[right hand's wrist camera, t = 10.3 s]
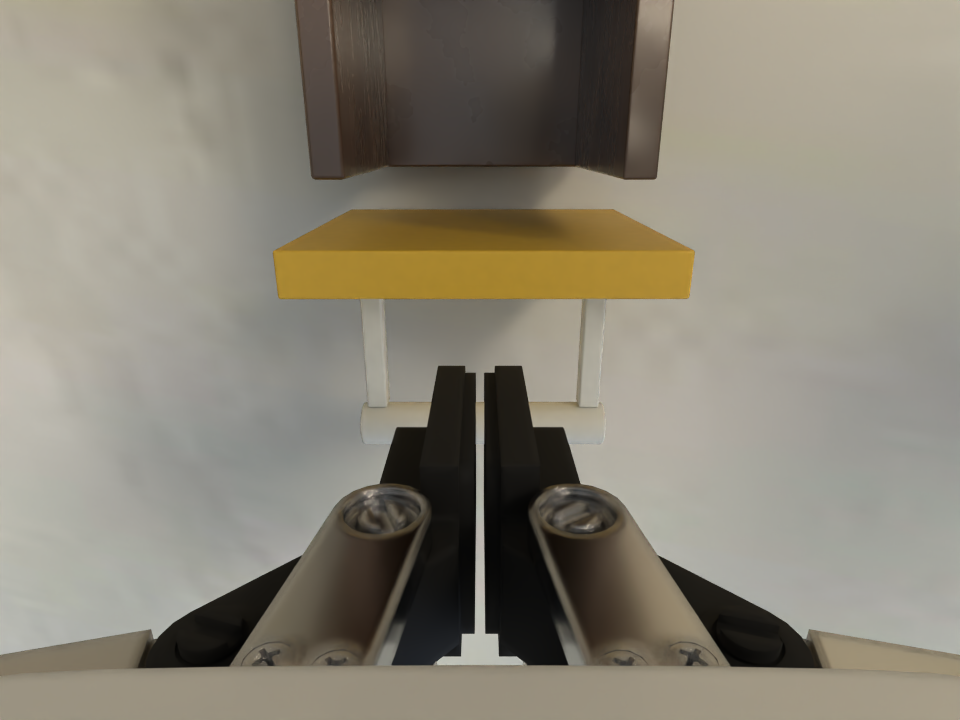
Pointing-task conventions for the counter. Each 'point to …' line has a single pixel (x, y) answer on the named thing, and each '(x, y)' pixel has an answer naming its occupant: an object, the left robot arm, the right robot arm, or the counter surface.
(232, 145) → the counter surface
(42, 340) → the counter surface
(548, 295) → the drawer
